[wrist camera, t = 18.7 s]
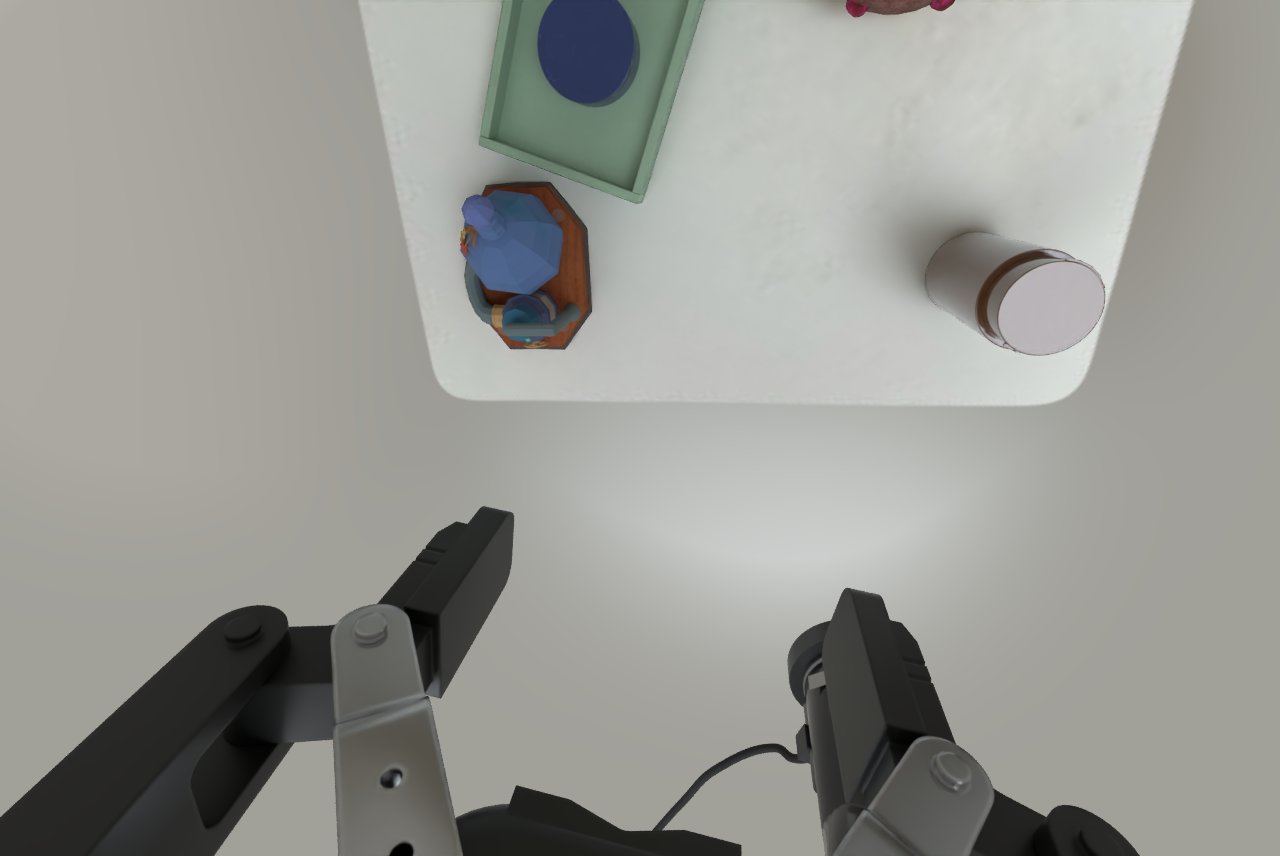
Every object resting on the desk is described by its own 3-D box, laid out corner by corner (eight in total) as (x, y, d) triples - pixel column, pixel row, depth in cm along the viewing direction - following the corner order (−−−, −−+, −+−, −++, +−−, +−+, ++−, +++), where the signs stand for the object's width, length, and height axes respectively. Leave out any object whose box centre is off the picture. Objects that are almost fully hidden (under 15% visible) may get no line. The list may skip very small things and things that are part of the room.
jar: (989, 319, 38) (1077, 371, 28) (912, 303, 38) (972, 348, 28) (1026, 241, 36) (1136, 266, 26) (943, 224, 36) (1021, 243, 26)
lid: (562, -20, 33) (550, -33, 31) (653, 13, 33) (647, 3, 31) (539, 89, 36) (527, 84, 34) (624, 120, 36) (616, 117, 34)
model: (458, 185, 40) (383, 188, 32) (583, 179, 38) (540, 181, 30) (484, 348, 45) (425, 388, 36) (596, 348, 43) (562, 390, 35)
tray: (642, 202, 38) (637, 204, 37) (490, 146, 38) (477, 145, 37) (720, -50, 32) (718, -63, 30) (537, -116, 32) (525, -133, 30)
